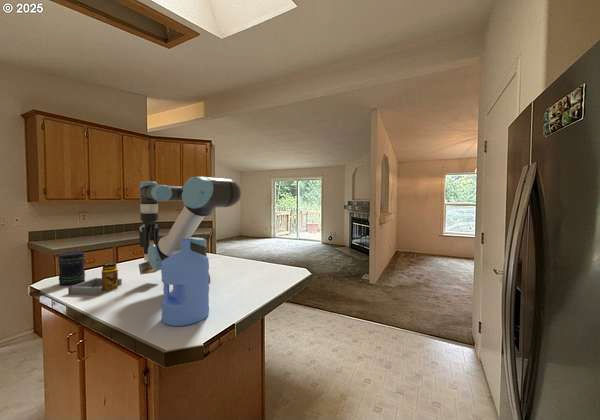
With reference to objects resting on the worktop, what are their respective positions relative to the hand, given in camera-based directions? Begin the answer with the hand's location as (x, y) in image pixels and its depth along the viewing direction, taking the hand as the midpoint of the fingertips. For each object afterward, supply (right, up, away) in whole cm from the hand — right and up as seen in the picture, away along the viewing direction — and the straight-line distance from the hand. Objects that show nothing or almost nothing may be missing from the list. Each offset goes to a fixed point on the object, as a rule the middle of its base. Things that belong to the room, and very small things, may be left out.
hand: (149, 259), depth 130 cm
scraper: (+2, -6, 0) cm, 6 cm away
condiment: (-15, -12, -9) cm, 21 cm away
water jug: (+34, -14, -36) cm, 52 cm away
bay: (-19, -12, -9) cm, 24 cm away
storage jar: (-38, -12, -1) cm, 40 cm away
